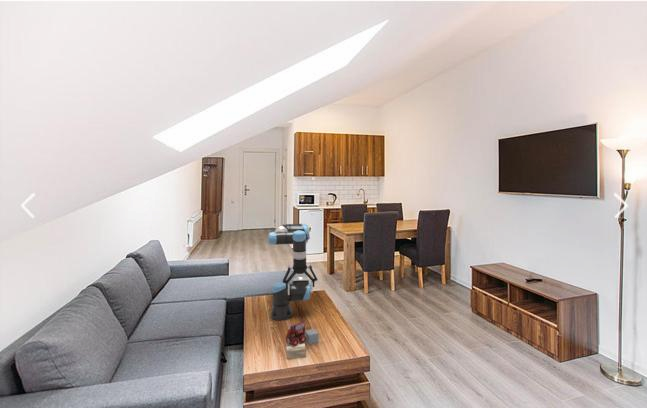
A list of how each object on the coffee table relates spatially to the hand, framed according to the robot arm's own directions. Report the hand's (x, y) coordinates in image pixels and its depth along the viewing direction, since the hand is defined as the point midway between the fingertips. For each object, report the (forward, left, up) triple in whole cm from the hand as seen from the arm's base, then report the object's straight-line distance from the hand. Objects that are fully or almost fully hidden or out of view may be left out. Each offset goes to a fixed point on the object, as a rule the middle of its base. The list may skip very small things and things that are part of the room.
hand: (300, 293), depth 179 cm
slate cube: (+5, +6, -28) cm, 29 cm away
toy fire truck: (+11, -4, -24) cm, 26 cm away
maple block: (+12, -5, -28) cm, 31 cm away
